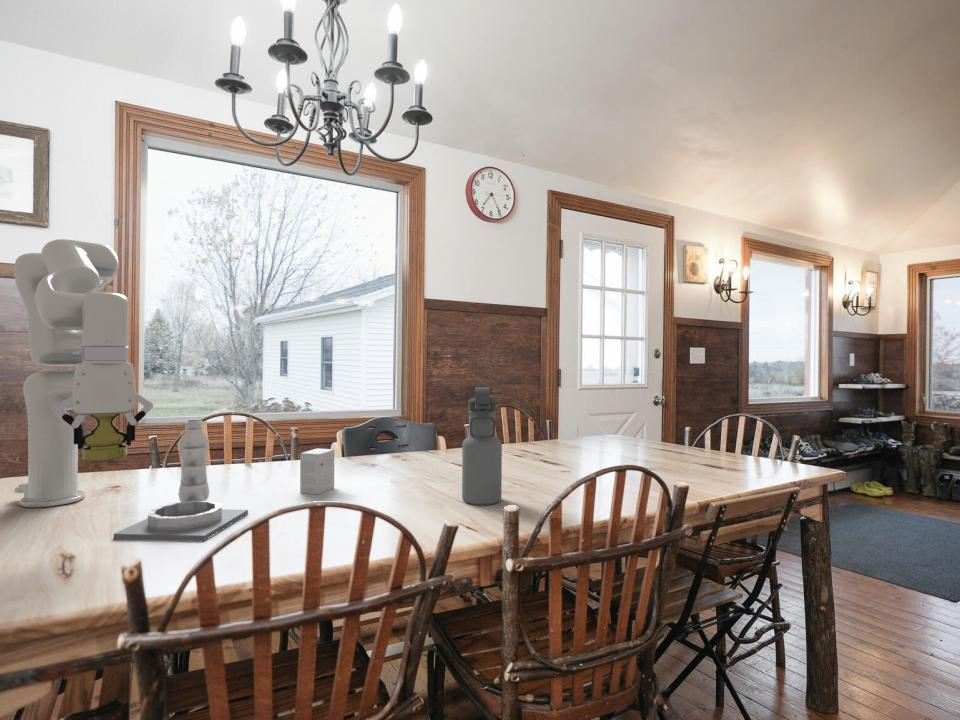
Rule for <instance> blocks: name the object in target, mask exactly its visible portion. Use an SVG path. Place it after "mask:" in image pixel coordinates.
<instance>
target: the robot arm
mask: <svg viewBox="0 0 960 720" xmlns="http://www.w3.org/2000/svg"><path fill="white" fill-rule="evenodd" d="M119 263H120V262H119V259H118V255H117V253H116V252H115V251H114V249H113V248H111V247H110V246H108V245H107V244H106V245H105V244H102V243H95V242H90V241H81V240H73V239H65V238H63V239H62V238H61V239H53V240H51V241H49V242H47V243H46V244H45V245H44V246H43V247H42V250H41V252H28V253H23V254H22V255H19V256H18V257H17V258H16V259H15V262H14V269H13V270H14V271H13V272H14V273H13V275H14V280H15V284H16V288H17V291H18V293H19V295H20V297H21V299H22V302H23V304H24V306H25V309H26V314H27V334H28V338H27V339H28V349H29V356H30V358H31V360H32V362H33V363H35V364H36V365H39V366H45V367H75V370H45V371H38V372H34V373H32V374H30V375H28V376H27V377H26V379H25V380H24V382H23V385H22V386H23V398H24V402H25V408H26V414H27V429H28V430H27V431H28V432H27V438H28V439H27V440H28V441H27V444H28V445H27V450H28V451H27V453H28V454H27V455H28V456H27V457H28V458H27V460H28V461H27V462H28V463H27V465H28V466H27V469H28V470H27V471H28V473H27V478H28V479H27V482H28V483H20V484H18V486H16V487H15V488H14V492H15V494H22V493H23V497H22V498H20V499H19V505H20V506H21V507H25V508H47V507H53V506H54V507H55V506H61V505H66V504H72V503H76V502H79V501H81V500H83V499H85V497H86V491H83V490H80V489H79V490H78V488H79V487H78V485H79V483H78V477H79V476H78V472H79V471H78V469H79V466H78V461H79V458H78V454H79V452H78V451H79V450H82V449H83V448H84V447H85V444H83V436H85V431H84V430H85V427H84V426H83V422H84V420H85V419H86V418H87V416H90V415H100V414H120V415H123V416H124V417H125V419H126V421H127V425H126V434H127V440H126V445H127V447H129V446H132V442H133V441H136V425H137V424H138V423H139V422H140V421H141V420H142V419H143V418H144V417H146V415H147V414H148V413H149V412H150V410H152V409H153V407H154V403H153V402H151V401H150V400H148V399H147V398H145V397H143V395H141V394H139V393H138V392H137V390H136V377H135V376H136V375H135V369H134V368H135V367H134V364H133V363H131V362H129V301H128V297H126V295H124V294H121V293H115V292H104V291H102V290H103V289H104V288H105V287H106V286H107V285H108V284H110V283H111V282H113V280H114V279H115V277H116V276H117V274H118V270H119V267H120V266H119V265H120V264H119ZM101 291H102V292H101ZM137 403H139V404H140V405H142V406H143V407H142V408H141V409H140V411H139V412H137V414H135V415H134V413H133V411H135V409H136V405H137ZM70 410H72V411H73V413H74V414H76V416H75V417H74V416H73V415H72V414H70V413H69V412H68V411H70Z"/></svg>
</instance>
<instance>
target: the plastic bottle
mask: <svg viewBox="0 0 960 720" xmlns="http://www.w3.org/2000/svg"><path fill="white" fill-rule="evenodd" d="M184 423H185V426H184V430H185V432H184V433H183V434H182V435H181V437H180V438H179V441H178V450H179V456H180V465H181V467H180V468H181V472H180V473H181V474H180V485H179V487H178V499H179V502H186V501H208V499H209V497H210V496H209V495H210V488H209V487H210V486H209V482H208V473H207V463H208V462H207V460H208V451H209V446H210V445H209V444H210V441H209V438H208V436H207V435H206V433H205V432H204V431H203V428H204V425H203V423H204V422H203V419H186V420H185V422H184Z"/></svg>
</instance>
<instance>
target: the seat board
mask: <svg viewBox="0 0 960 720" xmlns="http://www.w3.org/2000/svg"><path fill="white" fill-rule="evenodd" d="M195 514H199V513H193V514H184V515H177V516H172V517H179V516H188V515H195ZM247 514H248V515H249V509H229V508H228V509H227V508H224V509H223V508H222V519H221V520H219V521H217V522H215V523H214V524H211V525H207V526H204V527H200V528H196V529H189V530H180V531H156V530H153V529H150V528H148V518H146V519H143V520H141V521H139V522H137V523H135V524H133V525H129V526H128V527H125V528H124V529H121V530H118V531H117V532H114V533H113V540H140V541H141V540H144V541H145V540H151V541H153V540H154V541H189V540H192V541H194V540H205V539H207V538H208V537H210V536H212V535H213V534H215V533H216V532H218V531H220V530H221V531H223V530H224V529H223V528H225V527H226V528H228V527H229V526H228V525H230V524H231V523H233V522H234V523H236V522H238V521H239V520H241V519H242V518H241V517H243V516H244V517H246V516H248V515H247ZM245 515H246V516H245ZM244 517H243V518H244ZM240 518H241V519H240ZM238 519H239V520H238ZM237 520H238V521H237ZM235 521H236V522H235ZM234 523H233V524H234ZM231 525H232V524H231ZM231 525H230V526H231ZM227 526H228V527H227ZM226 528H225V529H226ZM222 529H223V530H222ZM221 531H220V532H221ZM218 533H219V532H218ZM215 535H216V534H215ZM213 536H214V535H213ZM213 536H212V537H213ZM210 538H211V537H210ZM208 539H209V538H208ZM208 539H207V540H208ZM192 541H191V542H192ZM205 541H206V540H205ZM194 542H195V541H194Z"/></svg>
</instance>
